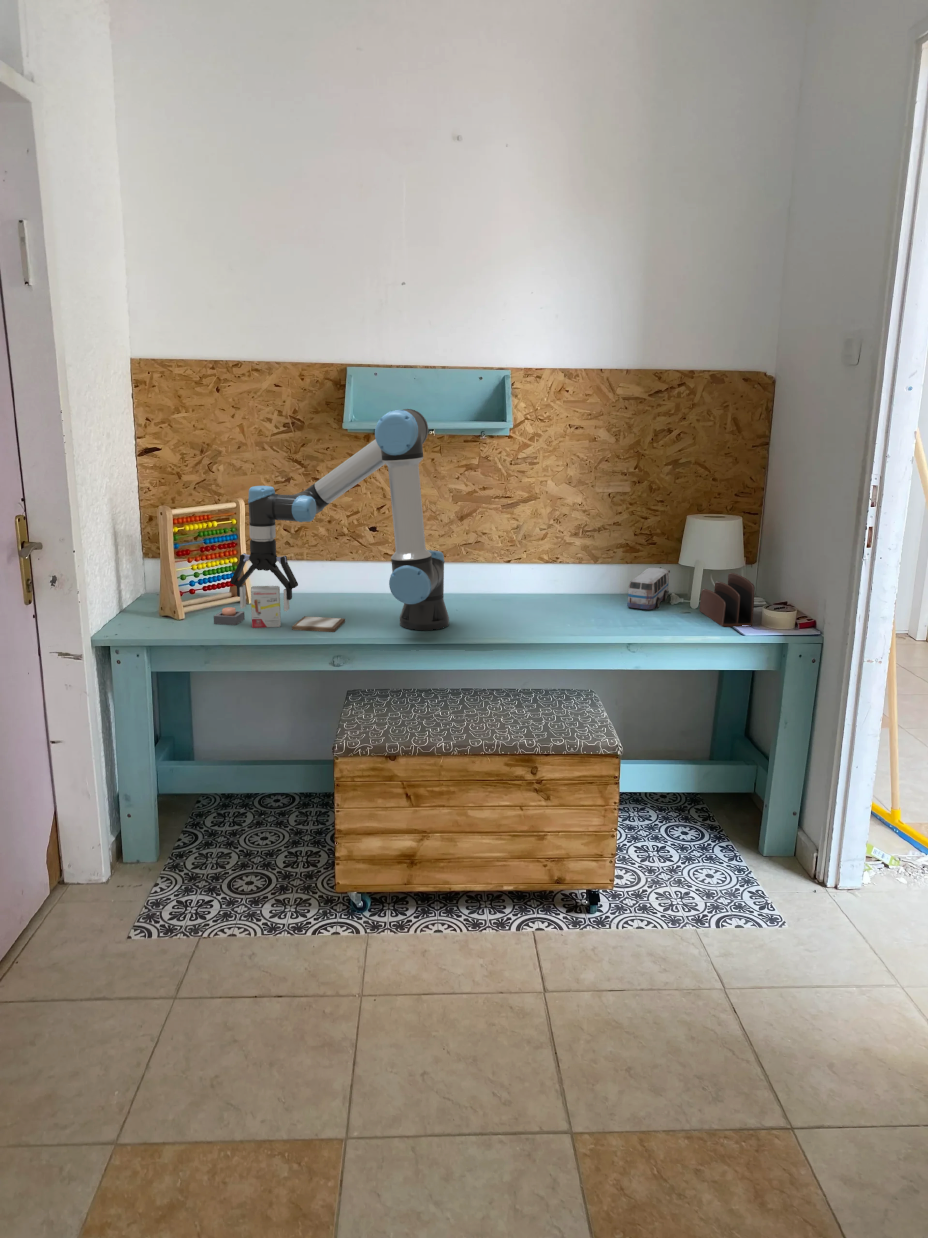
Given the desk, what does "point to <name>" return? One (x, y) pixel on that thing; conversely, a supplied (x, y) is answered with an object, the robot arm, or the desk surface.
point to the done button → (229, 611)
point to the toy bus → (648, 589)
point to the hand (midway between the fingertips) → (264, 608)
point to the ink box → (265, 606)
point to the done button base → (229, 618)
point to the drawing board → (318, 624)
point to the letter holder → (729, 602)
